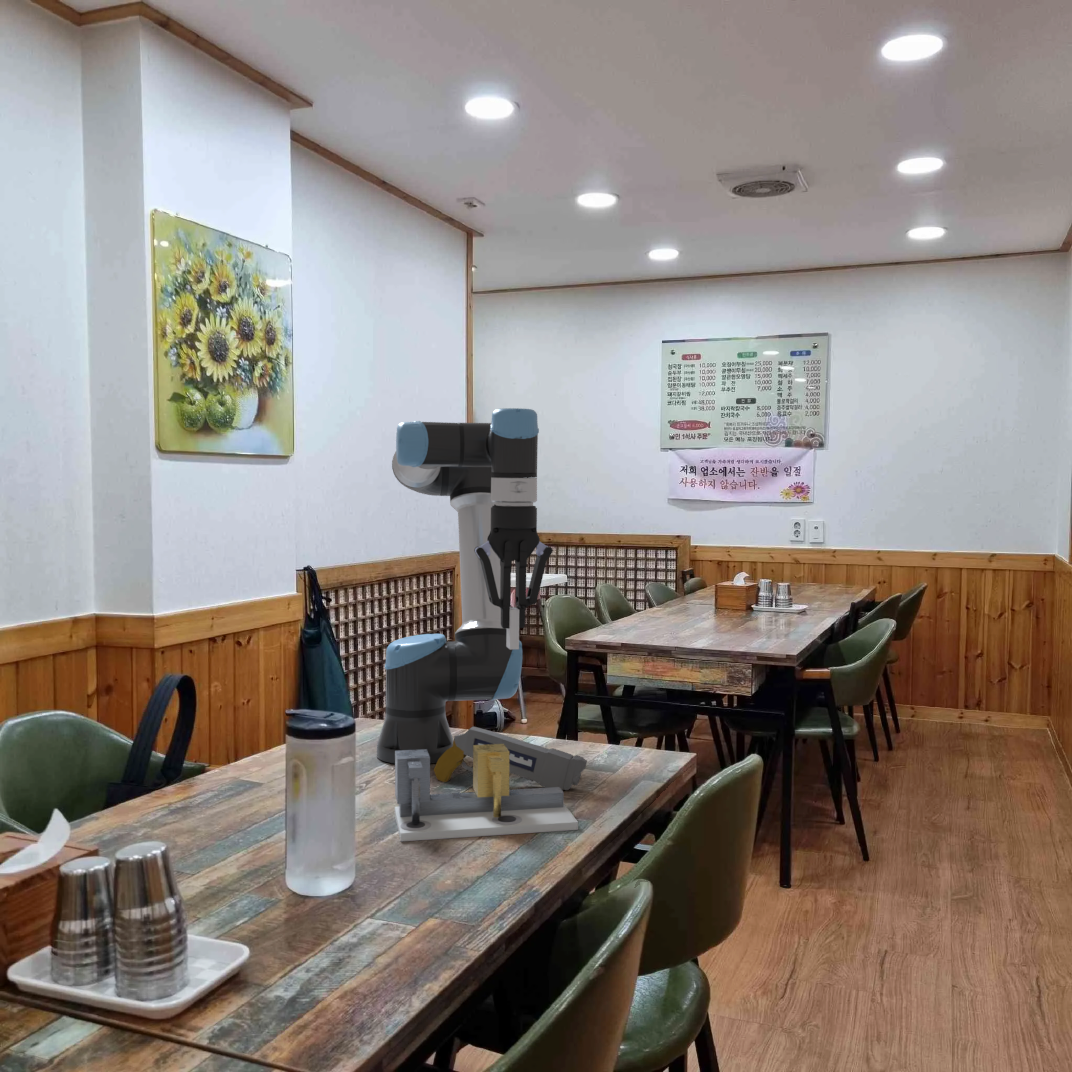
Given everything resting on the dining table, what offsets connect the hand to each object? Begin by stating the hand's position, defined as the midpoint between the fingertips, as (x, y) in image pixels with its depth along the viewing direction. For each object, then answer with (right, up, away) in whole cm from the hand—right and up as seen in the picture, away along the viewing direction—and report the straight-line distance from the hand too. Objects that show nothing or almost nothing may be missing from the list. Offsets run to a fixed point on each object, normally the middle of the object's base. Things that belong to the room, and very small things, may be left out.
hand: (512, 647), depth 165 cm
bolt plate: (-4, -26, -8) cm, 28 cm away
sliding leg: (-3, -25, -7) cm, 26 cm away
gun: (-1, -26, +12) cm, 29 cm away
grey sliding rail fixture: (-5, -25, -7) cm, 27 cm away
